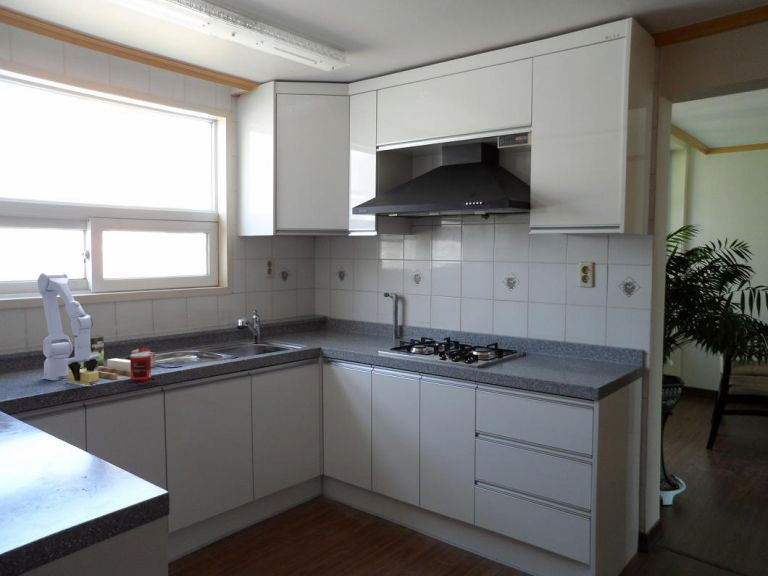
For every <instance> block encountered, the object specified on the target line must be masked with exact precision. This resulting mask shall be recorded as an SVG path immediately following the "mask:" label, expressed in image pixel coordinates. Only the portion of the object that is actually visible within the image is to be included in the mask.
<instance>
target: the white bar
mask: <svg viewBox="0 0 768 576" xmlns="http://www.w3.org/2000/svg"><path fill="white" fill-rule="evenodd" d="M106 361H107V366H106V367H109V368H116V369H122V370H129V371H131V367H130V359H123V358H110V359H109V358H108V359H107V360H106Z"/></svg>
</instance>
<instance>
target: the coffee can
mask: <svg viewBox="0 0 768 576" xmlns="http://www.w3.org/2000/svg"><path fill="white" fill-rule="evenodd" d="M104 338H105V336H104V335H90V348H91V355H95V354H100V355H101V359H96V360H97V361H98V363H97V365H96V367H97V366H104V365H105V351H104V350H105V348H104V347H105V346H104V343H105V342H104ZM80 361H81V360H80ZM79 364H81V367H80V368H82V369H87V368H86V363H85V361H84V362H79Z"/></svg>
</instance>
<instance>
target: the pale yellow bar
mask: <svg viewBox="0 0 768 576" xmlns="http://www.w3.org/2000/svg"><path fill="white" fill-rule="evenodd" d="M99 378H100V377H99V372H94V371H88V370H81V369H80V380H79V381H75V379H74V376H73V373H72V371H71V369H68V375H67V380H68V383H70V382H71V383H72V384H76V383H77V384H78V385H82V384H85V385H84V386H87V385H92V386H94V385H93V384H96V383H95V382H97V381H99V380H100V379H99Z"/></svg>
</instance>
